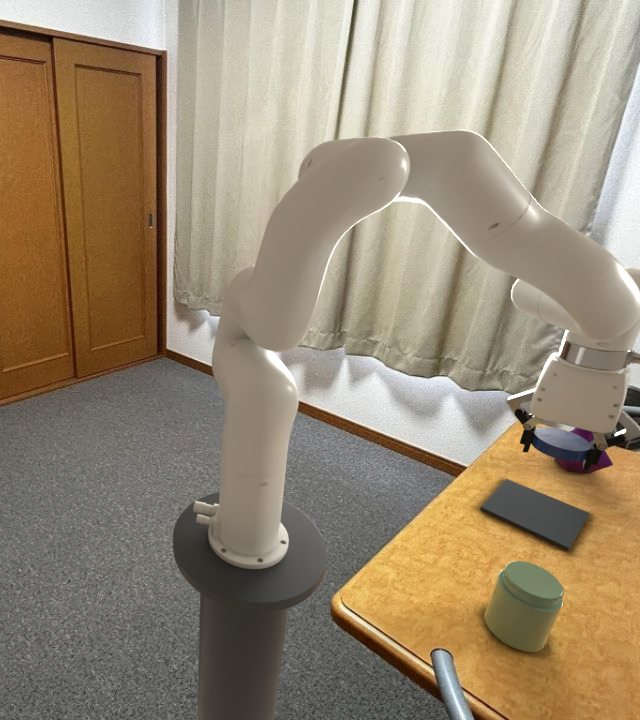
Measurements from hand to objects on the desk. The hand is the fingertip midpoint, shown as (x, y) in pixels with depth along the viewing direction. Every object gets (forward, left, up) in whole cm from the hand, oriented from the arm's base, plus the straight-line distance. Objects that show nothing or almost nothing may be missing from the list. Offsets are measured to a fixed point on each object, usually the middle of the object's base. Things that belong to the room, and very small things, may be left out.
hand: (555, 456), depth 75 cm
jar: (-9, -26, -11) cm, 30 cm away
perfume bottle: (+11, +18, -11) cm, 24 cm away
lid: (0, 0, +3) cm, 3 cm away
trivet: (0, 0, -11) cm, 11 cm away
